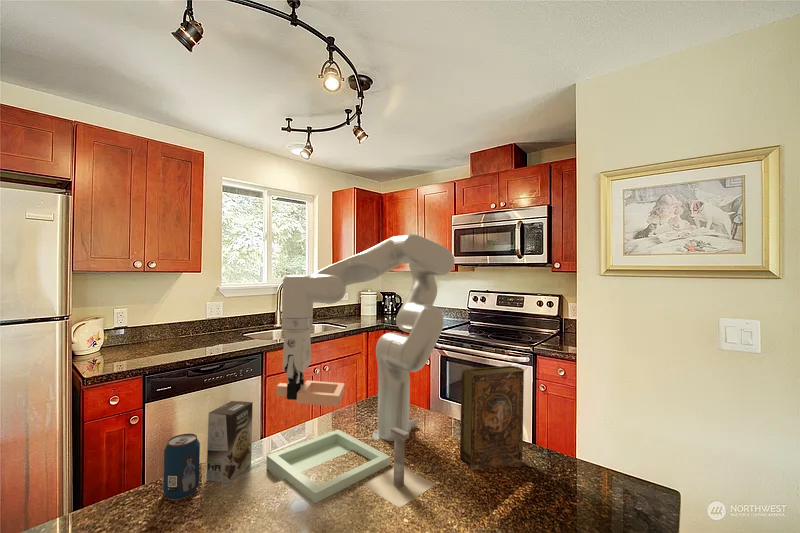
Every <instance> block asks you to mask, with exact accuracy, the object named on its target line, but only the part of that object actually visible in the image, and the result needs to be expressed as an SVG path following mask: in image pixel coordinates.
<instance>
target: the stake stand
mask: <svg viewBox="0 0 800 533" xmlns="http://www.w3.org/2000/svg"><path fill="white" fill-rule="evenodd" d="M390 434H391V435H393V436H394V441H393V442H394V446H393V447H394V448H393V467H391V468H389V469H387V470H385V471H384V472H381V473H379V474H378V475H376V476H374V477H373V478H370V479H368V480H366V481H364V482H363V483H362V485H363V486H365V488H367V489H369V490H370V491H371V492H374V493H375V494H377V495H378V496H379V497H381V498H382V499H384V500H385V501H387V502H388V503H390V504H391V505H393V506H395V507H396V508H398V509H400V508H402V507H403V506H405V505H407V504H408V503H410V502H411V501H413V500H415V499H416V498H418V497H419V496H420V495H423V493H425V492H427V491H428V490H431V489H432V488H433V487H434V486H436V483H434V482H432V481H430V480H429V479H428V480H427V479H426V478H424V477H423V476H421V475H419V474H417V473H415V472H412V471H411V470H409V469H407V468H406V467H405V455H406V454H405V453H406V452H405V449H406V446H405V441H406V440H408V439H410V432H409V433H408V432H406V431H403V430H401V429H399V428H396V427H394V428H392V429H391V433H390Z"/></svg>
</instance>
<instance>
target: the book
mask: <svg viewBox="0 0 800 533" xmlns="http://www.w3.org/2000/svg"><path fill="white" fill-rule="evenodd" d="M524 374H525V371H524V369H523V368H522V367H519V366H515V365H504V366H503V365H501V366H500V365H499V366H491V367H488V366H487V367H477V368H466V369H463V370H461V386H460V387H461V389H460V391H461V392H460V393H461V394H460V431H459V432H460V438H459V440H460V441H459V442H460V444H459V447H460V448H459V458H460V459H459V460H460V461H465V462H467V463H469V471H475V470H480V469H487V468H492V467H498V466H503V465H506V466H509V467H510V468H513V467H518V468H521V467H520V466H522V467H523V460H524V459H523V454H524V453H523V449H524V448H523V446H524V444H523V443H524V442H523V441H524V389H525V388H524V387H525V386H524V384H525V380H524V379H525V376H524Z"/></svg>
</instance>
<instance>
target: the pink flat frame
mask: <svg viewBox="0 0 800 533" xmlns="http://www.w3.org/2000/svg"><path fill="white" fill-rule="evenodd" d="M344 393H345V383H344V382H332V381H320V380H309V379H308V380H306V381H304V385H301V389H300V390H299V391H298V392H297V400H295V401H296V404H301V405H302V404H303V405H313V406H315V405H316V406H326V407H339V406H340V403H341V400H342V398H343V396H344ZM275 396H276V397H286V398H287V383H286V382H285V383H283V382H280V383H278V384H277V386H276V395H275Z"/></svg>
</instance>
